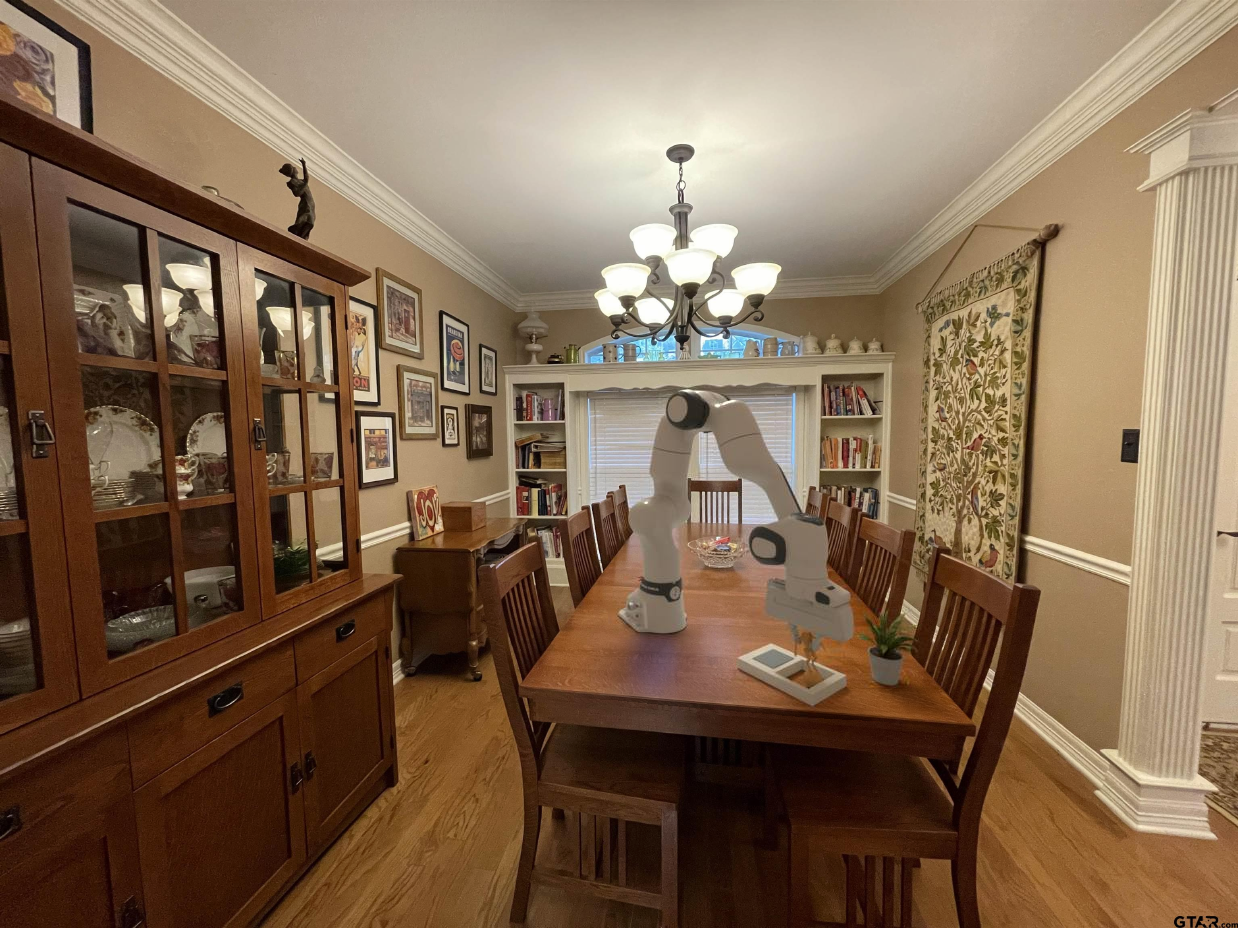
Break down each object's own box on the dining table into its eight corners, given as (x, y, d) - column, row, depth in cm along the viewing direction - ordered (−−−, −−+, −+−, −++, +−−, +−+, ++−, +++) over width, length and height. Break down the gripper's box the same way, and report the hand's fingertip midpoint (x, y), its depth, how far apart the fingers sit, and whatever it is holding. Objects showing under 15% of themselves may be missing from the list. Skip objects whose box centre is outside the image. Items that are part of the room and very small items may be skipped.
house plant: (854, 692, 102) (855, 619, 101) (839, 662, 115) (840, 597, 114) (927, 700, 99) (929, 625, 98) (903, 668, 112) (904, 601, 111)
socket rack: (737, 667, 114) (737, 656, 113) (771, 652, 121) (771, 642, 121) (812, 706, 97) (812, 693, 97) (846, 686, 105) (846, 674, 104)
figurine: (803, 695, 101) (806, 642, 100) (785, 680, 107) (788, 630, 106) (834, 688, 104) (837, 637, 102) (815, 674, 109) (818, 625, 108)
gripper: (758, 577, 111) (758, 634, 112) (842, 602, 94) (841, 668, 95) (775, 572, 115) (775, 627, 116) (858, 595, 98) (857, 659, 99)
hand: (805, 646), depth 105 cm, fingers closed on figurine, 3 cm apart
